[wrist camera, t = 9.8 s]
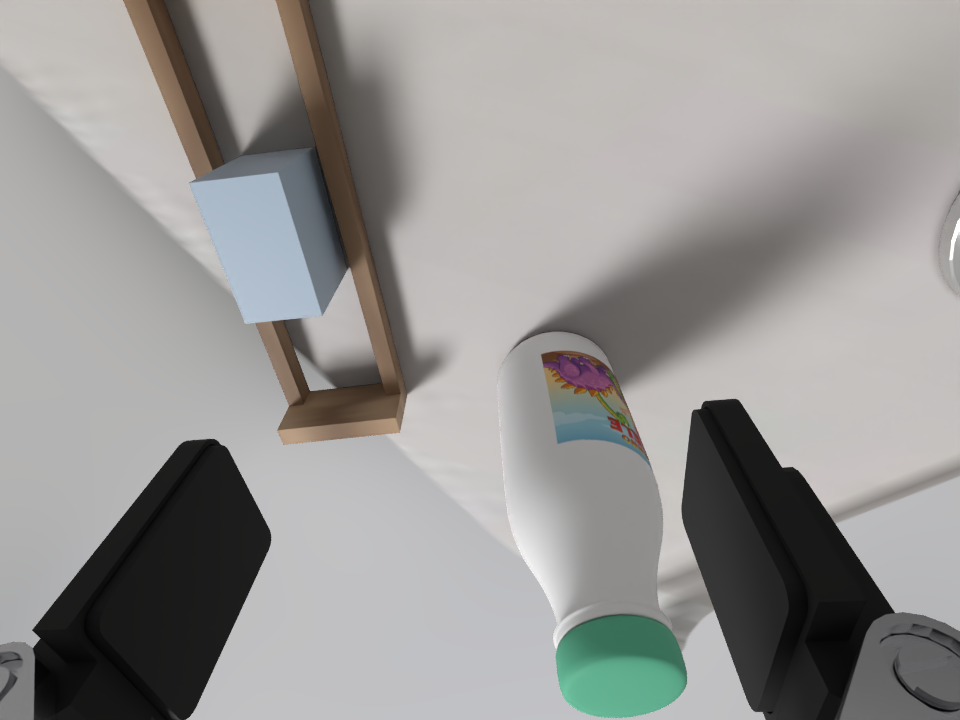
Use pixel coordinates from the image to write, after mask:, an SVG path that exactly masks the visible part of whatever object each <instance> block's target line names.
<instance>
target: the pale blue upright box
mask: <svg viewBox="0 0 960 720" xmlns="http://www.w3.org/2000/svg"><path fill="white" fill-rule="evenodd" d="M189 185H190V188H191V190H192V193H193V195H194V198H195V200H196V203H197V205H198V208H199V210H200V213H201V215H202V218H203V220H204V223H205V225H206V227H207V230H208V232H209V235H210V237H211V240H212V242H213V245H214V247H215V250H216V252H217V255H218V257H219V260H220V262H221V265H222V267H223V270H224V272H225V275H226V277H227V280H228V282H229V285H230V287H231V290H232V292H233V295H234V297H235V299H236V302H237V304H238V307H239V309H240V312H241V314H242V317H243V319H244V322H245V324H249V323H259V322H268V321H278V320H288V319H297V318H307V317H317V316H323V314H324V312H325V310H326V308H327V306H328V304H329V303H330V301H331V299H332V297H333V295H334V293H335V292H336V290H337V288H338V286H339V284H340V282H341V280H342V279H343V277H344V275H345V273H346V271H347V268H346V264H345V261H344V257H343V253H342V249H341V246H340V242H339V238H338V234H337V230H336V227H335V223H334V219H333V215H332V212H331V208H330V204H329V200H328V197H327V193H326V189H325V185H324V181H323V178H322V174H321V170H320V166H319V163H318V159H317V155H316V151H315V148H314V147H310V148H301V149H293V150H285V151H276V152H268V153H260V154H252V155H243V156H240V157H238V158H236V159H234V160H232V161H230V162H228V163H226V164H224V165H222V166H220V167H218V168H217V169H215V170H213V171H211V172H209V173H207V174H205V175H203V176H201V177H199V178H197V179H195V180H194V181H192V182H190V183H189Z"/></svg>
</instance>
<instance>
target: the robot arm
mask: <svg viewBox="0 0 960 720" xmlns="http://www.w3.org/2000/svg"><path fill="white" fill-rule="evenodd" d="M939 264H940V267H941V271H942V274H943V278H944V280H945V281H946V282H947V284H948V285H949V287H950V288H951V290H952V291H953V292H955V293H956V294H957V295H958V296H960V193H959V195H958V197H957V198H956V200H955V202H954V203H953V205H952V207H951V209H950V212H949V214H948V217H947V219H946V221H945V224H944V226H943V230H942V235H941V240H940V244H939ZM682 519H683V524H684V527H685V530H686V533H687V535H688V538H689V541H690V544H691V546H692V549H693V552H694V555H695V557H696V560H697V563H698V566H699V568H700V571H701V574H702V577H703V579H704V582H705V585H706V588H707V591H708V593H709V596H710V599H711V602H712V604H713V607H714V610H715V613H716V615H717V618H718V620H719V624H720V626H721V629H722V632H723V635H724V637H725V640H726V643H727V646H728V648H729V651H730V654H731V657H732V660H733V662H734V665H735V668H736V671H737V673H738V676H739V679H740V682H741V684H742V687H743V690H744V693H745V695H746V698H747V700H748V703H749V705H750V707H751V709H752V710H753V711H755V712H763V714H764V716H765V719H766V720H960V631H958V630H956V629H954V628H952V627H951V626H949V625H947V624H946V623H943V622H940V621H937V620H935V619H932V618H929V617H926V616H924V615H917V614H911V613H904V612H902V613H895V612H894V611H893V609H892V608H891V606H890V605H889V603H888V602H887V600H886V599H885V597H884V596H883V594H882V593H881V591H880V590H879V588H878V587H877V585H876V584H875V582H874V581H873V579H872V578H871V576H870V575H869V573H868V572H867V570H866V569H865V567H864V566H863V564H862V563H861V562H860V560H859V559H858V557H857V556H856V554H855V553H854V551H853V550H852V548H851V547H850V546H849V544H848V542H847V541H846V539H845V538H844V536H843V535H842V533H841V532H840V530H839V529H838V527H837V526H836V524H835V523H834V521H833V520H832V518H831V517H830V515H829V514H828V512H827V511H826V509H825V508H824V506H823V505H822V503H821V502H820V501H819V499H818V498H817V496H816V495H815V493H814V492H813V490H812V489H811V487H810V486H809V484H808V483H807V481H806V480H805V478H804V477H803V476H802V475H801V473H800V472H799V471H798V470H796V469H795V468H793V467H786V468H782V467H781V465H780V464H779V462H778V460H777V459H776V457H775V456H774V454H773V453H772V451H771V450H770V448H769V446H768V445H767V443H766V442H765V440H764V439H763V437H762V435H761V434H760V432H759V431H758V429H757V428H756V426H755V424H754V423H753V421H752V420H751V418H750V417H749V415H748V413H747V412H746V410H745V409H744V407H743V406H742V404H741V403H740V402H739V400H737V399H727V400H714V401H705V402H703V404H702V407H701V409H698V410H693V412H692V416H691V426H690V435H689V444H688V453H687V462H686V471H685V480H684V490H683V499H682ZM270 544H271V533H270V530H269V528H268V526H267V524H266V522H265V520H264V518H263V516H262V514H261V512H260V510H259V508H258V506H257V505H256V502H255V501H254V499H253V497H252V495H251V493H250V491H249V489H248V487H247V485H246V483H245V481H244V479H243V478H242V475H241V474H240V472H239V470H238V468H237V466H236V464H235V462H234V460H233V458H232V456H231V454H230V452H229V450H228V449H227V448H226V447H225V446H222V445H221V444H220V443H219V442H218V441H217V440H215V439H206V440H192V441H186V442H183V443H182V444H181V445H179V447H178V448H177V449H176V450H175V451H174V453H173V454H172V455H171V456H170V458H169V459H168V460H167V462H166V463H165V464H164V465H163V467H162V468H161V469H160V470H159V472H158V473H157V474H156V475H155V477H154V478H153V479H152V480H151V482H150V483H149V484H148V486H147V487H146V488H145V489H144V490H143V492H142V493H141V494H140V496H139V497H138V498H137V499H136V500H135V502H134V503H133V504H132V506H131V507H130V508H129V509H128V511H127V512H126V513H125V514H124V516H123V517H122V518H121V519H120V521H119V522H118V523H117V524H116V526H115V527H114V528H113V529H112V531H111V532H110V533H109V535H108V536H107V537H106V538H105V540H104V541H103V542H102V543H101V544H100V546H99V547H98V548H97V549H96V551H95V552H94V553H93V555H92V556H91V557H90V558H89V560H88V561H87V562H86V563H85V565H84V566H83V567H82V568H81V570H80V571H79V572H78V573H77V575H76V576H75V577H74V579H73V580H72V581H71V582H70V583H69V585H68V586H67V587H66V589H65V590H64V591H63V592H62V594H61V595H60V596H59V597H58V599H57V600H56V601H55V602H54V604H53V605H52V606H51V607H50V609H49V610H48V611H47V612H46V614H45V615H44V616H43V617H42V619H41V620H40V621H39V622H38V624H37V625H36V626H35V627H34V629H33V630H32V631H34V632H35V633H36V634H37V635H38V636H39V637H40V638H41V639H40V640H39V641H38V642H37V644H36V645H35V646H34V648H32V647H30V646H29V645H28V644H26V643H22V642H11V643H7V644H3V645H0V720H186V719H187V718H189V717H190V716H191V714H192V713H193V711H194V710H195V708H196V706H197V704H198V702H199V700H200V698H201V695H202V693H203V691H204V689H205V687H206V684H207V682H208V680H209V678H210V676H211V673H212V672H213V669H214V667H215V665H216V663H217V661H218V658H219V656H220V654H221V652H222V650H223V647H224V645H225V643H226V641H227V639H228V637H229V635H230V632H231V630H232V628H233V626H234V624H235V622H236V619H237V617H238V615H239V613H240V611H241V609H242V606H243V604H244V602H245V600H246V598H247V596H248V593H249V591H250V589H251V587H252V585H253V582H254V580H255V578H256V576H257V574H258V572H259V570H260V567H261V565H262V563H263V561H264V559H265V556H266V554H267V552H268V550H269V547H270Z"/></svg>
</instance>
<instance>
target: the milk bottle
mask: <svg viewBox="0 0 960 720" xmlns="http://www.w3.org/2000/svg"><path fill="white" fill-rule="evenodd" d="M497 384H498V409H499V424H500V439H501V453H502V466H503V478H504V489H505V497H506V505H507V513H508V518H509V522H510V526H511V530H512V533H513V536H514V539H515V542H516V544H517V546H518V549H519V551H520V553H521V555H522V557H523V558H524V560H525V562H526V563H527V565H528V566H529V568H530V569H531V571H532V572H533V574H534V575H535V577H536V578H537V580H538V581H539V583H540V585H541V586H542V588H543V590H544V591H545V594H546V595H547V597H548V600H549V601H550V604H551V606H552V609H553V611H554V614H555V617H556V620H557V625H558V626H557V627H556V629H555V632H554V636H553V642H554V645H555V647H556V649H557V651H556V663H557V673H558V679H559V685H560V689H561V692H562V694H563V696H564V699H565V700H566V701H567V702H568V703H569V704H570V705H571V706H572V707H574V708H575V709H577V710H579V711H581V712H583V713H586V714H589V715H593V716H598V717H608V718H623V717H633V716H638V715H643V714H647V713H650V712H653V711H656V710H659V709H661V708H663V707H665V706H667V705H669V704H670V703H672V702H673V701H675V700H676V699H677V698H678V697H679V696H680V695H681V693H682V692H683V691H684V689H685V687H686V684H687V671H686V667H685V663H684V660H683V657H682V653H681V650H680V648H679V645H678V642H677V640H676V638H675V636H674V635H673V633H672V624H671V621H670V619H669V618H668V616H667V615H666V614H665V613H664V612H663V611H662V610H660V608H659V604H658V596H657V569H658V561H659V555H660V549H661V543H662V535H663V512H662V503H661V499H660V494H659V490H658V485H657V482H656V479H655V476H654V474H653V471H652V468H651V465H650V462H649V459H648V456H647V454H646V451H645V449H644V446H643V444H642V441H641V439H640V436H639V434H638V431H637V428H636V426H635V423H634V421H633V418H632V416H631V413H630V411H629V409H628V406H627V404H626V401H625V399H624V396H623V394H622V391H621V389H620V387H619V384H618V382H617V379H616V377H615V375H614V372H613V370H612V367H611V365H610V363H609V361H608V359H607V357H606V355H605V354H604V352H603V351H602V350H601V349H600V348H599V347H598V346H597V345H596V344H595V343H593V342H592V341H590V340H588V339H587V338H584V337H582V336H580V335H577V334H574V333H568V332H548V333H541V334H539V335H536V336H533V337H530V338H529V339H527V340H525V341H523V342H521V343H520V344H519V345H518V346H517V347H515V348H514V349H513V350H512V351H511V352H510V353H509V355H508V356H507V357H506V358H505V360H504V362H503V363H502V365H501V368H500V371H499V374H498V381H497Z"/></svg>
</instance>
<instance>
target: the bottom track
mask: <svg viewBox="0 0 960 720" xmlns="http://www.w3.org/2000/svg"><path fill="white" fill-rule="evenodd" d="M123 1H124V3H125V6H126V8H127V11H128V13H129V16H130V18H131V20H132V23H133V25H134V28H135V30H136V33H137V35H138V38H139V40H140V42H141V45H142V47H143V50H144V52H145V55H146V57H147V60H148V62H149V64H150V67H151V69H152V72H153V74H154V77H155V79H156V82H157V84H158V86H159V89H160V91H161V94H162V96H163V99H164V101H165V104H166V106H167V108H168V111H169V113H170V116H171V118H172V121H173V123H174V126H175V128H176V130H177V133H178V135H179V138H180V140H181V143H182V145H183V148H184V150H185V152H186V155H187V157H188V160H189V162H190V165H191V167H192V170H193V172H194V174H195V177H196V179H197V178H199V177H201V176H203V175H205V174H207V173H209V172H211V171H213V170H215V169H217V168H218V167H220V166H222V165H224V161H223V158H222V156H221V153H220V150H219V148H218V145H217V142H216V140H215V137H214V134H213V132H212V129H211V126H210V124H209V121H208V118H207V116H206V113H205V110H204V108H203V105H202V102H201V100H200V97H199V94H198V92H197V89H196V86H195V84H194V81H193V78H192V76H191V73H190V70H189V68H188V65H187V62H186V60H185V57H184V54H183V52H182V49H181V46H180V44H179V41H178V38H177V36H176V33H175V30H174V28H173V25H172V22H171V20H170V17H169V14H168V12H167V9H166V6H165V4H164V1H163V0H123ZM276 3H277V6H278V10H279V13H280V17H281V20H282V24H283V28H284V31H285V35H286V38H287V42H288V46H289V49H290V53H291V56H292V60H293V64H294V67H295V71H296V74H297V78H298V82H299V85H300V89H301V92H302V96H303V99H304V103H305V107H306V110H307V114H308V117H309V121H310V125H311V128H312V132H313V135H314V139H315V143H316V146H317V150H318V153H319V157H320V161H321V164H322V168H323V171H324V175H325V179H326V182H327V186H328V189H329V193H330V196H331V200H332V204H333V207H334V211H335V214H336V218H337V222H338V225H339V229H340V232H341V236H342V240H343V243H344V247H345V250H346V254H347V258H348V261H349V265H350V268H351V272H352V276H353V279H354V283H355V286H356V290H357V293H358V297H359V301H360V304H361V308H362V311H363V315H364V319H365V322H366V326H367V329H368V333H369V337H370V340H371V344H372V347H373V351H374V355H375V358H376V362H377V365H378V369H379V372H380V376H381V380H382V384H372V385H363V386H354V387H345V388H336V389H327V390H318V391H310V390H309V388H308V385H307V382H306V380H305V377H304V375H303V372H302V369H301V366H300V364H299V361H298V358H297V356H296V353H295V350H294V348H293V345H292V342H291V340H290V337H289V334H288V332H287V329H286V326H285V324H284V321H283V320H278V321H268V322H259V323H256V326H257V328H258V330H259V333H260V336H261V338H262V341H263V343H264V346H265V348H266V350H267V353H268V355H269V358H270V360H271V362H272V365H273V368H274V370H275V372H276V375H277V377H278V380H279V382H280V384H281V387H282V389H283V392H284V394H285V397H286V399H287V402H288V404H289V408H288V410H287V412H286V414H285V416H284V418H283V420H282V422H281V424H280V426H279V428H278V430H277V431H278V433H279V436H280V438H281V440H282V442H283V444H284V445H285V444H295V443H304V442H314V441H324V440H333V439H343V438H353V437H363V436H372V435H382V434H392V433H400V430H401V424H402V419H403V414H404V408H405V403H406V398H407V393H406V389H405V385H404V381H403V377H402V373H401V369H400V365H399V361H398V357H397V353H396V349H395V345H394V342H393V338H392V334H391V330H390V326H389V322H388V318H387V314H386V310H385V306H384V302H383V298H382V294H381V290H380V286H379V282H378V278H377V274H376V270H375V266H374V262H373V258H372V254H371V250H370V246H369V242H368V238H367V234H366V230H365V226H364V222H363V218H362V214H361V210H360V206H359V202H358V198H357V194H356V190H355V186H354V182H353V178H352V174H351V170H350V166H349V162H348V158H347V154H346V150H345V146H344V142H343V138H342V134H341V130H340V126H339V122H338V118H337V114H336V110H335V106H334V102H333V98H332V94H331V91H330V87H329V83H328V79H327V75H326V71H325V67H324V63H323V59H322V55H321V51H320V47H319V43H318V39H317V35H316V31H315V27H314V23H313V19H312V15H311V11H310V7H309V3H308V0H276Z"/></svg>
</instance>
